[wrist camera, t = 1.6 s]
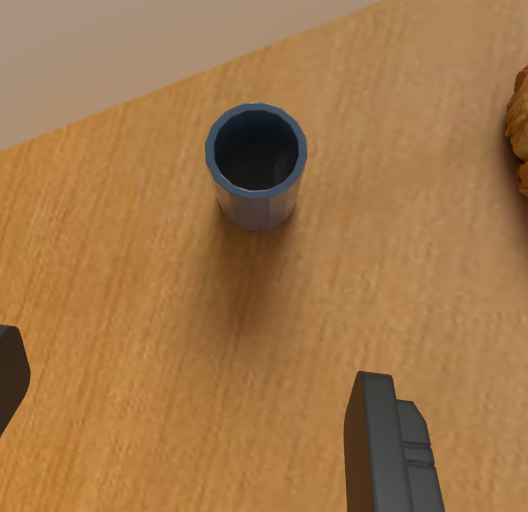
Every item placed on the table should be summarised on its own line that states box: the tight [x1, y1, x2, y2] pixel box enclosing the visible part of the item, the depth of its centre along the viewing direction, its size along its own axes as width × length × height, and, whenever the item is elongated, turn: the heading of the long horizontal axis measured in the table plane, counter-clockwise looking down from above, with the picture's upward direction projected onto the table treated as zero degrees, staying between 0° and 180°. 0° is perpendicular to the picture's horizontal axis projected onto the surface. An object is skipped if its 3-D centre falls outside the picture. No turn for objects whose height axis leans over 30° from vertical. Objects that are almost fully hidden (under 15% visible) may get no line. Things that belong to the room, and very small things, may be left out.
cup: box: [205, 102, 307, 231], centre depth 33 cm, size 6×6×8 cm
